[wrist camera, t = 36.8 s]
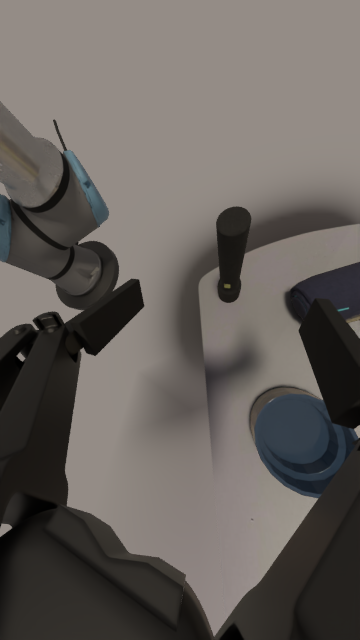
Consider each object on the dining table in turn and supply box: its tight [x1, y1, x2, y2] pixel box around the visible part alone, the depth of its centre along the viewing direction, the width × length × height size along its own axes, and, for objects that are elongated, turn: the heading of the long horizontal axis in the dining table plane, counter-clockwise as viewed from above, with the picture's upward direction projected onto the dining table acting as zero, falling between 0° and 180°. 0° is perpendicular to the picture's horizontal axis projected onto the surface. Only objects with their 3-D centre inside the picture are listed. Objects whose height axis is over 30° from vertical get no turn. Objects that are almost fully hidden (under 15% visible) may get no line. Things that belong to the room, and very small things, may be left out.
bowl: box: [250, 387, 359, 498], centre depth 30 cm, size 15×15×6 cm
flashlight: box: [216, 207, 251, 303], centre depth 29 cm, size 5×24×5 cm
